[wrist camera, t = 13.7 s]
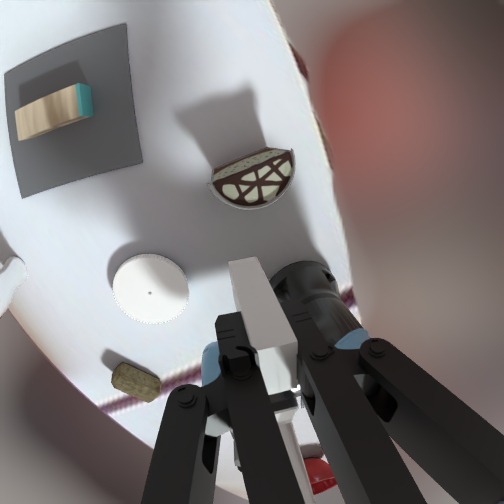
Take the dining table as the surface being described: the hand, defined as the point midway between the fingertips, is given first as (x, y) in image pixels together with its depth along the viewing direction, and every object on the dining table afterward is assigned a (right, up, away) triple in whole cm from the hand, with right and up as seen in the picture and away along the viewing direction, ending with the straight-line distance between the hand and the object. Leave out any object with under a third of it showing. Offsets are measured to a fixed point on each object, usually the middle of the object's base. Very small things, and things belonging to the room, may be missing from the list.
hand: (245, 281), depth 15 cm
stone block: (-27, -27, +44) cm, 58 cm away
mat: (-29, +24, +19) cm, 42 cm away
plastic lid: (-18, -5, +35) cm, 40 cm away
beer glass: (-46, -2, +27) cm, 54 cm away
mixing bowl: (+23, -94, +87) cm, 130 cm away
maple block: (-24, +24, +17) cm, 37 cm away
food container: (0, +14, +30) cm, 33 cm away
